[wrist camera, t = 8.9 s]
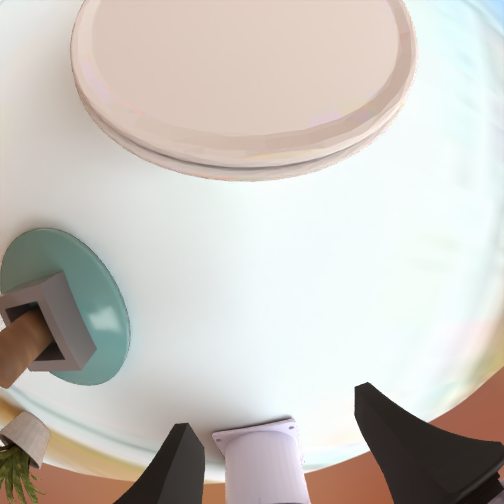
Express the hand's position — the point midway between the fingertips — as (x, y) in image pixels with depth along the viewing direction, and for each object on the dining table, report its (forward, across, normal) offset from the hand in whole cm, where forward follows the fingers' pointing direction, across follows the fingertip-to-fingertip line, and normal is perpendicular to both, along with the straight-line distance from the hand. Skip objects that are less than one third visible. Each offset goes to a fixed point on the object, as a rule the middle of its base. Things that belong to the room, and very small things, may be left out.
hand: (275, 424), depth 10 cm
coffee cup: (+10, -2, -14) cm, 17 cm away
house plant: (+10, +35, +11) cm, 38 cm away
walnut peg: (+8, +16, -4) cm, 19 cm away
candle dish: (+9, +16, -4) cm, 19 cm away
